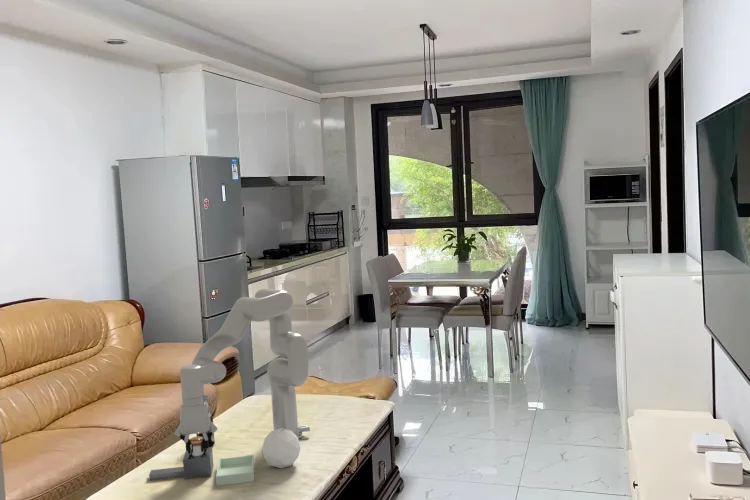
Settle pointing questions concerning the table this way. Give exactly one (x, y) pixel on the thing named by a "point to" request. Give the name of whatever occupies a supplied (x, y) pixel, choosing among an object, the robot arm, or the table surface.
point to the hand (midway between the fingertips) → (197, 450)
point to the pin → (197, 446)
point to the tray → (235, 470)
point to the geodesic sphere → (281, 448)
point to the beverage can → (211, 439)
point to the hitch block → (188, 467)
